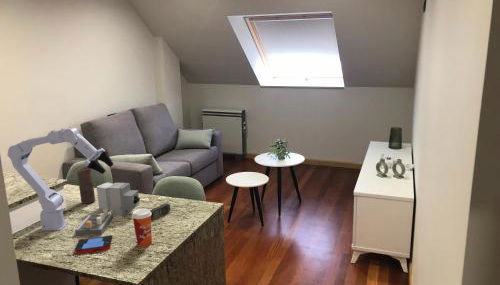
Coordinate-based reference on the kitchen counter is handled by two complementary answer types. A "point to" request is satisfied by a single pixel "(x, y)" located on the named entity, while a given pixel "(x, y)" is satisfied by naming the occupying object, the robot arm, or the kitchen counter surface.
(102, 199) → the supplement box
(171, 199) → the kitchen counter surface
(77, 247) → the game console
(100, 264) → the kitchen counter surface
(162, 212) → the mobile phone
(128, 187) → the circuit breaker
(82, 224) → the breaker panel
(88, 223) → the block
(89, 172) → the candle
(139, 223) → the coffee cup
